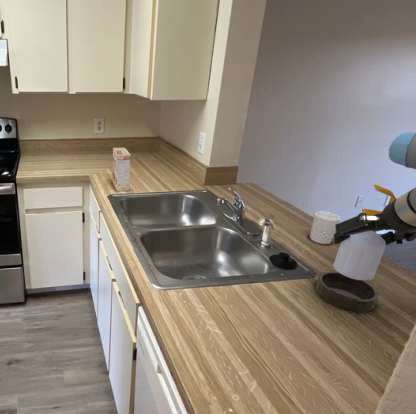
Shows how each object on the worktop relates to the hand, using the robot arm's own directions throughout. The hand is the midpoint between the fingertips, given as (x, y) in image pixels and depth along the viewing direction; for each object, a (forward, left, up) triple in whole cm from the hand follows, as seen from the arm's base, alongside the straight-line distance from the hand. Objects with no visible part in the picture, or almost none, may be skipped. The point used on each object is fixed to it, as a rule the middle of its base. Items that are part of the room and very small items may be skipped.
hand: (356, 241), depth 90 cm
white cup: (0, -32, -16) cm, 36 cm away
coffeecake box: (+90, -58, -16) cm, 108 cm away
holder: (-1, +3, -16) cm, 16 cm away
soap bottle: (-1, +3, -8) cm, 9 cm away
